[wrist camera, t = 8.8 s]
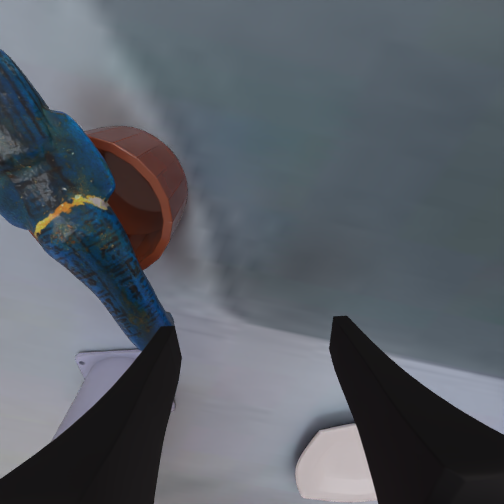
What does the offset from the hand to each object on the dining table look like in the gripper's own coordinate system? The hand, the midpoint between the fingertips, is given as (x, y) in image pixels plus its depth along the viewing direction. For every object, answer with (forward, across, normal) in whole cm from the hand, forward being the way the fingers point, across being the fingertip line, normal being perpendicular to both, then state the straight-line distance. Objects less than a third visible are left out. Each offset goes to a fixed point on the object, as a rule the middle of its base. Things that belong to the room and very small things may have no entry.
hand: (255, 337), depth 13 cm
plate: (+9, -14, +32) cm, 36 cm away
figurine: (+5, +8, -4) cm, 10 cm away
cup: (+10, +8, -4) cm, 14 cm away
